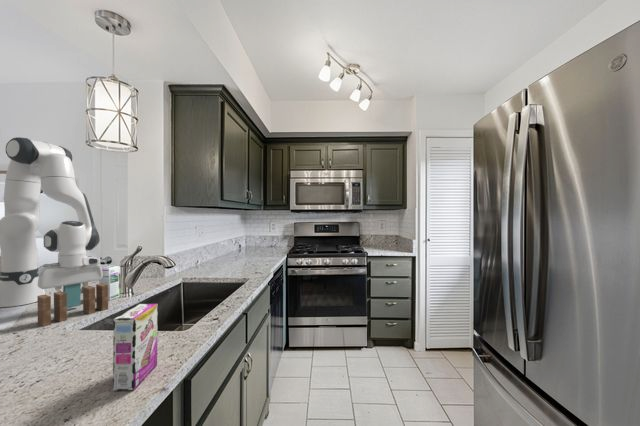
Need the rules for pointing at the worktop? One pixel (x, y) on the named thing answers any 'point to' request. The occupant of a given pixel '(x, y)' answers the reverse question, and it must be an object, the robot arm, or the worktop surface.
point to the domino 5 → (102, 296)
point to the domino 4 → (89, 299)
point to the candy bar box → (134, 346)
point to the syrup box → (112, 281)
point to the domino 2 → (60, 306)
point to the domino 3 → (73, 294)
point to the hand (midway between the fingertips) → (71, 295)
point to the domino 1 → (44, 310)
